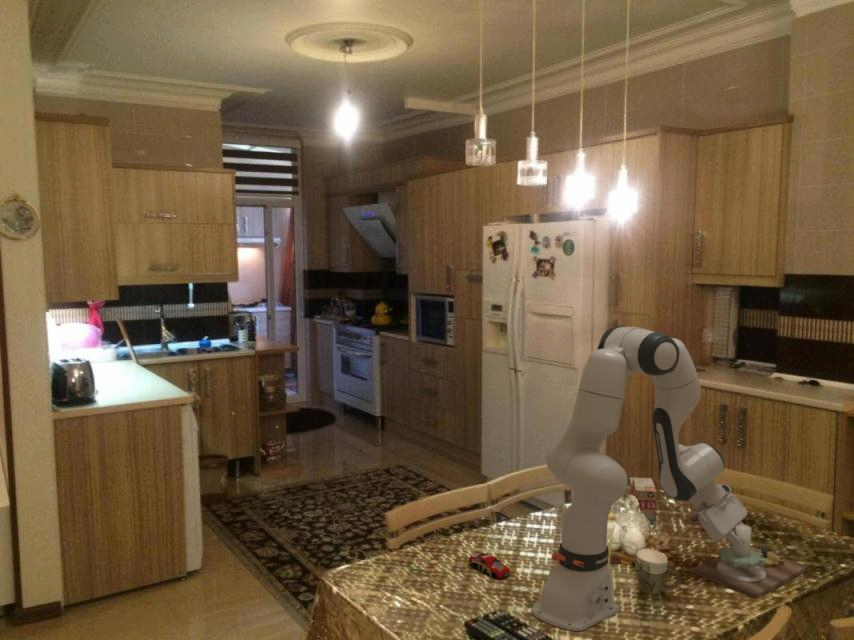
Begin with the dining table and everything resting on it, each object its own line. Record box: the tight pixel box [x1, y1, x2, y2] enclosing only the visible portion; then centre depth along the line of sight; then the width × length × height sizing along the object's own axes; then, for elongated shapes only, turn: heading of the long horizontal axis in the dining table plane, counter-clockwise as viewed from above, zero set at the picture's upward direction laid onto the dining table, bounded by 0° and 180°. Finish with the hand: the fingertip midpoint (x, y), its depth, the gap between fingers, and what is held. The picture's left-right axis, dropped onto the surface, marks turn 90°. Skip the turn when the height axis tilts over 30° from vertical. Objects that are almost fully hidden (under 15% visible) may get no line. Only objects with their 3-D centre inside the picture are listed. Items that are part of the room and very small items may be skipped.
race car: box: [468, 552, 511, 580], centre depth 192 cm, size 13×5×4 cm, turn 39°
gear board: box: [691, 544, 809, 600], centre depth 190 cm, size 26×18×5 cm
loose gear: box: [719, 524, 765, 569], centre depth 187 cm, size 11×11×9 cm
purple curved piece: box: [690, 510, 705, 531], centre depth 222 cm, size 10×5×7 cm, turn 1°
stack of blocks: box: [628, 477, 657, 526], centre depth 231 cm, size 21×6×12 cm, turn 169°
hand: (745, 542), depth 186 cm, fingers closed on loose gear, 4 cm apart
